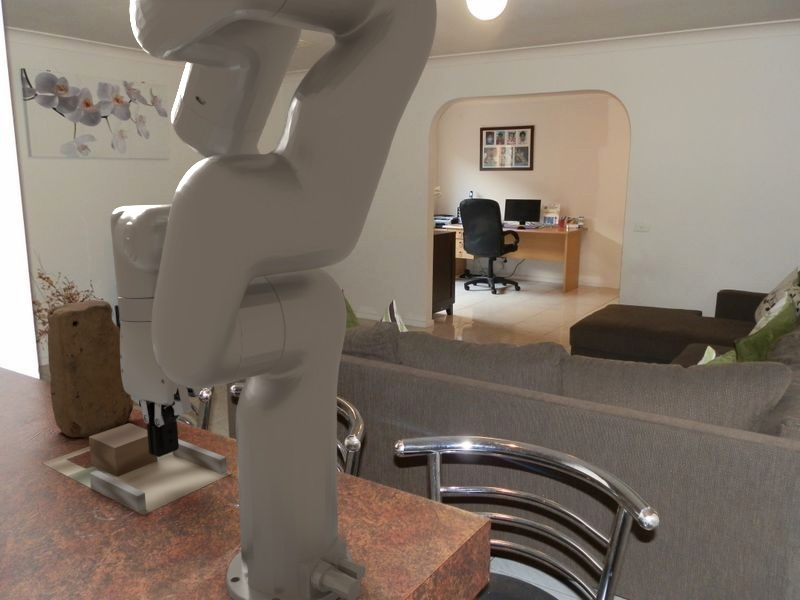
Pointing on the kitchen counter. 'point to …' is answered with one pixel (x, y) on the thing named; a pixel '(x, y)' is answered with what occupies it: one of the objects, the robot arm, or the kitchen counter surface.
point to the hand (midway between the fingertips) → (164, 451)
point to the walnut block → (121, 449)
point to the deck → (150, 477)
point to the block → (86, 369)
